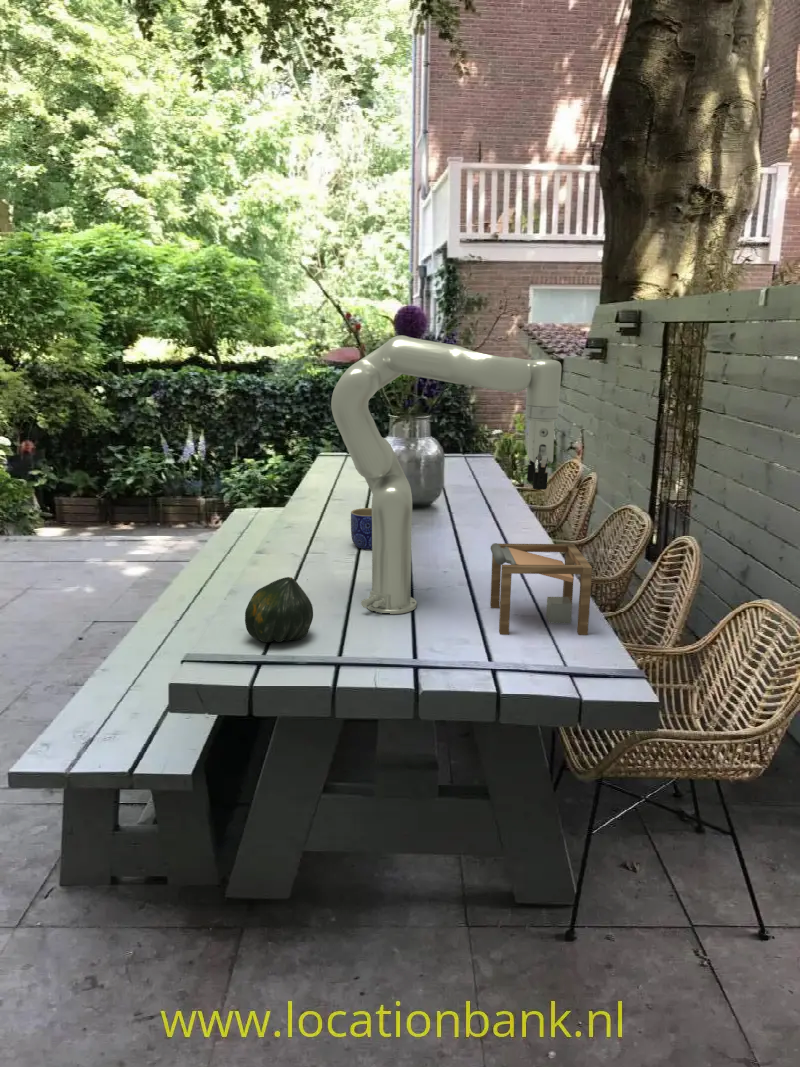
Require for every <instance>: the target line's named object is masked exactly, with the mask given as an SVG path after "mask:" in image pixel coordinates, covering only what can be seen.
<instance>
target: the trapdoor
mask: <svg viewBox="0 0 800 1067" xmlns="http://www.w3.org/2000/svg"><path fill="white" fill-rule="evenodd" d="M499 544H500V543H495V542H494V543H492V544H491V545H490V551H491V555H492V554H493V556H494V559H495V561H496V563H497V564H499V565H501V566H502V565H505V564H507V565H565V562H564V561H563V560H560V559H555V558H551V557H548V556H543V555H540V554H535V553H533V552H525V551H521V550H517V549H513V548H509V547H504V548H501V547H500V545H499ZM540 575H541V576H546V577H549V578H554V579H557V580H562V581H564V580H565V581H569V582H573V583H574V580H573V579H575V577H574V578H573V576H572V575H571V574H540Z"/></svg>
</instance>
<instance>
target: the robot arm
mask: <svg viewBox="0 0 800 1067" xmlns="http://www.w3.org/2000/svg"><path fill="white" fill-rule="evenodd" d="M402 375H405V376H412V377H419V378H424V379H430V380H435V381H441V382H446V383H451V384H457V385H466V386H471V387H476V388H477V387H478V388H482V389H486V390H494V391H498V392H506V393H511V394H515V393H520V392H522V391H524V390H526V402H525V419H524V420H528V421H529V425H528V437H527V438H528V440H527V457H528V464H527V476H526V478H527V479H526V480H527V482H532V489H534V490H547V488H548V476H549V475H548V474H549V473H548V471H549V470H548V467H549V466H548V463H549V464H552V463H553V462H554V450H555V449H554V444H555V443H554V442H555V422H556V421H557V422H558V420H559V419H558V418H559V406H560V393H561V380H562V364H561V362H560V361H558V360H555V359H545V358H544V359H542V358H538V359H533V360H532V359H524V358H519V357H513V356H510V357H504V356H500V355H499V356H497V355H492V354H487V353H484V352H483V353H482V352H479V351H478V352H477V351H474V350H471V349H468V348H466V347H463V346H460V345H456V344H450V343H444V342H438V341H433V340H427V339H419V338H414V337H411V336H407V335H402V334H401V335H396V336H394V337H391V338H390V339H388V341H386V342H385V343H384V344H382V345H380V346H379V347H378V348H376V349H375V350H373V351H372V352H370V353H369V354H367V355H366V356H364V357H362V358H361V359H360V360H358V361H357V362H355V363H353V364H352V365H350V366H349V367H348V368H347V369H346V370H345V371H344V373H342V375H341V377H339V380H338V381H337V382H336V385H335V387H334V388H333V392H332V394H331V395H332V396H331V404H330V406H331V413H332V416H333V419H334V423H335V425H336V427H337V429H338V431H339V433H340V435H341V438H342V441H343V443H344V445H345V447H346V450H347V451H348V453H349V455H350V457H351V460H352V463H353V465H354V467H355V470H356V471H357V473H358V474H359V475H360V476H362V477H363V478H364V479H365V482H366V483H367V485H368V487H369V490H370V491H371V494H372V498H371V508H372V549H371V563H372V564H371V567H372V568H371V571H372V572H371V576H372V577H371V584H372V586H371V590H370V591H369V593H370V594H369V595H370V596H368V597H367V598H365V599H363V600H361V602H360V605H361V607H362V608H364V609H365V608H367V609H368V610H369V611H371V612H373V611H376V612H375V613H377V612H382V613H390V614H389V615H399V614H406V613H407V614H408V613H410V612H412V611H413V610H415V609H416V608H417V602H418V601H417V599H415V598H414V597H412V596H411V595H412V594H411V589H412V588H411V587H412V586H411V585H412V522H413V520H412V519H413V495H412V488H411V485H410V482H409V480H408V479H407V476H406V474H405V472H404V469H403V467H402V465H401V463H400V462H399V458H398V457H397V454H396V452H395V451H394V449H393V446H392V445H391V443H390V441H388V440H387V439H386V438H384V437H382V435H381V433H380V431H379V429H378V427H377V424H376V422H375V420H374V417H373V416H372V414H371V412H370V410H369V409H370V408H369V403H370V402H369V401H370V399H371V398H373V396H374V395H375V394H376V393H377V391H379V390H380V389H383V388H384V387H385V386H387V385H388V384H390V383H391V382H392V381H395V380H397V379H398V377H400V376H402ZM382 613H381V614H382Z"/></svg>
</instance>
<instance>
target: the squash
mask: <svg viewBox="0 0 800 1067" xmlns="http://www.w3.org/2000/svg"><path fill="white" fill-rule="evenodd" d="M313 618H314V607H313V604H312V602H311V600H310V598H309V597H308V595H307V594H306V592H305V591H304V590H303V588H302V587H301V586H300V585H299V583H298V582H297V581H296V580H295V579H294V578H293V577H291V576H287V577H285V576H284V577H281V578H279V579H277V580H275V581H272V582H270V583H268V584H266V585H264V586H262V587H261V588H258V589H257V590H256V591H255V592H254V593H253V594H252V597H251V598H250V600H249V602H248V604H247V606H246V608H245V612H244V622H245V623H244V624H245V629H246V631H247V632H248V635H249V636H251V637H252V638H253V639H254V640H255V639H256V640H257V641H258V640H259V641H261V642H263V643H271V642H273V641H275V642H279V643H280V642H283V641H299V640H301V639H303V638H305V637H306V636H307V635H308V633H309V631H310V628H311V625H312V622H313Z"/></svg>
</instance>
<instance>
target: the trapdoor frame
mask: <svg viewBox="0 0 800 1067" xmlns="http://www.w3.org/2000/svg"><path fill="white" fill-rule="evenodd" d="M498 544H499V545H500V547H501V548H504V547H509V548H513V549H517V550H521V551H525V552H529V553H565V555H564V565H511V564H502V565H499V564H497V563H496V561H495V559H494V556H493V554H492V553H491V577H490V578H491V579H490V580H491V581H490V608H491V609H499V622H498V623H499V624H498V632H499V635H509V634H510V615H511V613H510V612H511V594H512V593H511V592H512V575H513V574H514V575H515V574H516V575H517V574H520V575H521V574H522V575H523V574H524V575H525V574H526V575H527V574H528V575H534V574H535V575H537V574H538V575H541V574H571V575H572V576H573V578H574V579H575V575H580V580H579V583H580V584H579V594H578V595H579V596H578V597H579V598H578V612H577V628H576V632H577V634H578V636H589V634H588V632H589V618H590V608H591V607H590V605H591V604H590V603H591V590H592V580H593V579H592V577H593V576H592V575H593V567H592V565H591V564H590V562H589V561H588V560H587V559H586V557H584V555H583V554H582V552H581V551H580V550H579V549H578V547H577V546H576V545H575V544H574V543H498ZM574 579H573V582H569V581H565V580H563V584H562V585H563V586H562V597H568V598H569V599H570V601H571V603H572V604H573V593H574Z"/></svg>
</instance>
